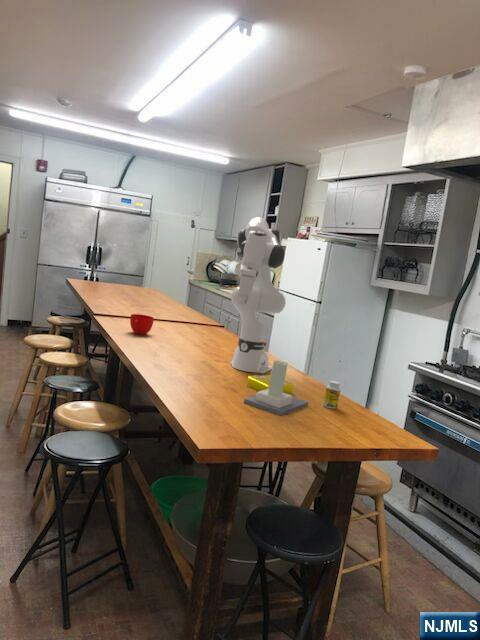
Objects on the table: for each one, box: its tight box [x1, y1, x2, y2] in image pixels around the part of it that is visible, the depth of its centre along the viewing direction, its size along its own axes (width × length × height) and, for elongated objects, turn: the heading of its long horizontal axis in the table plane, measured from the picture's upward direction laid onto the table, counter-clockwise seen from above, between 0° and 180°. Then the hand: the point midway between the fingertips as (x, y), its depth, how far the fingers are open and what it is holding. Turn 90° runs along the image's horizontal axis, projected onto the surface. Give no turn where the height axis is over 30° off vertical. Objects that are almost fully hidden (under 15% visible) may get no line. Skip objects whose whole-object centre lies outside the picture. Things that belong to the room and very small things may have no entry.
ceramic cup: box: [129, 313, 155, 336], centre depth 279 cm, size 13×17×10 cm
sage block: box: [268, 359, 289, 397], centre depth 184 cm, size 5×5×12 cm
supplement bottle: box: [322, 380, 341, 409], centre depth 196 cm, size 6×6×10 cm
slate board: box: [243, 389, 309, 417], centre depth 188 cm, size 22×16×4 cm
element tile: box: [246, 374, 295, 395], centre depth 208 cm, size 15×15×5 cm
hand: (243, 304), depth 203 cm, fingers open, 8 cm apart
